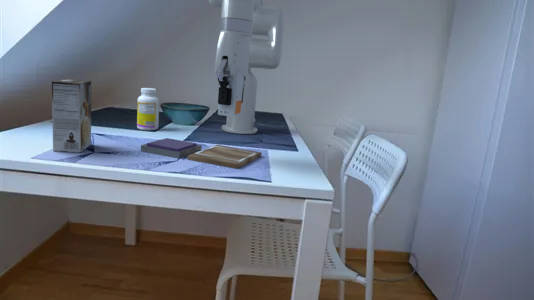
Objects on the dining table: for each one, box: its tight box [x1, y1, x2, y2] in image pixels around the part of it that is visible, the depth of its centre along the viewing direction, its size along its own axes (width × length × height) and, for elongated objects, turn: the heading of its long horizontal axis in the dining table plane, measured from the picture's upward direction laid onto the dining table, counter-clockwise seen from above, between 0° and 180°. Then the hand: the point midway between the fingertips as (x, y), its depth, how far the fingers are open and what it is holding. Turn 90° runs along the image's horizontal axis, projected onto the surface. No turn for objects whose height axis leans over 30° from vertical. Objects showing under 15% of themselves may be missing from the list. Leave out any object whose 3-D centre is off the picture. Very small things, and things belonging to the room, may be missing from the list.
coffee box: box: [51, 78, 92, 153], centre depth 97 cm, size 9×6×16 cm
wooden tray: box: [187, 144, 263, 170], centre depth 103 cm, size 16×13×1 cm
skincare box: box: [217, 67, 244, 117], centre depth 100 cm, size 6×4×12 cm
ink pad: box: [140, 137, 203, 159], centre depth 105 cm, size 11×11×2 cm
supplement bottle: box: [136, 87, 160, 131], centre depth 129 cm, size 7×7×13 cm
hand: (230, 103), depth 101 cm, fingers closed on skincare box, 6 cm apart
